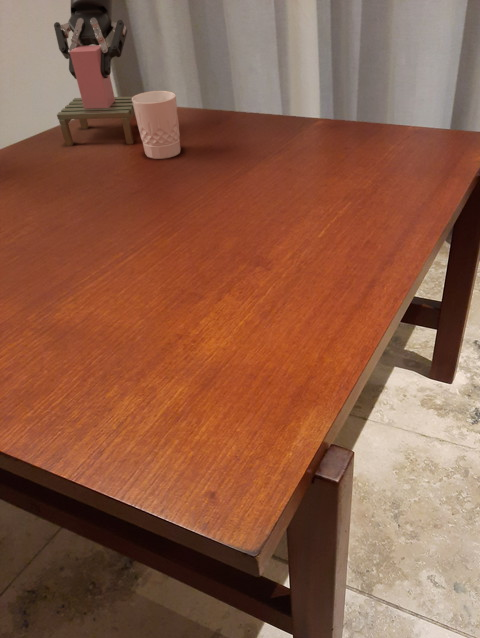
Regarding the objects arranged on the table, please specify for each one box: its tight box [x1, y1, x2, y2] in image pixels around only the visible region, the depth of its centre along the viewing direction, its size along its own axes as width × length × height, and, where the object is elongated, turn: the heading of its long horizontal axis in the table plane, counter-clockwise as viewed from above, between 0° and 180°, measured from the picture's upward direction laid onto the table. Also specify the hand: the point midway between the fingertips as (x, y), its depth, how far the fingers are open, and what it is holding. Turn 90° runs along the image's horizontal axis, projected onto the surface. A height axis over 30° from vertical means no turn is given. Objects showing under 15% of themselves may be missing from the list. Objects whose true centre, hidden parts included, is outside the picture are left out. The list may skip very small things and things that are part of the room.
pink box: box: [70, 44, 116, 109], centre depth 108 cm, size 5×5×10 cm
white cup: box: [132, 90, 182, 160], centre depth 103 cm, size 8×8×10 cm
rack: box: [56, 95, 135, 147], centre depth 113 cm, size 14×12×6 cm
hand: (89, 75), depth 106 cm, fingers closed on pink box, 5 cm apart
